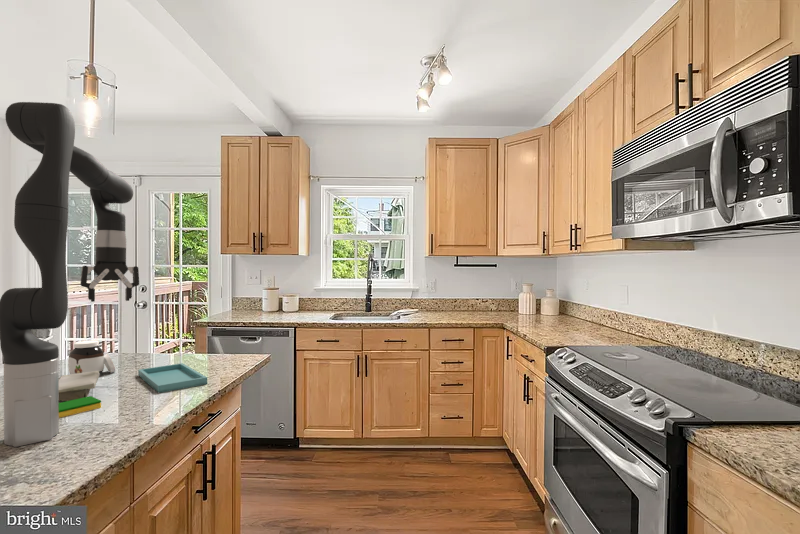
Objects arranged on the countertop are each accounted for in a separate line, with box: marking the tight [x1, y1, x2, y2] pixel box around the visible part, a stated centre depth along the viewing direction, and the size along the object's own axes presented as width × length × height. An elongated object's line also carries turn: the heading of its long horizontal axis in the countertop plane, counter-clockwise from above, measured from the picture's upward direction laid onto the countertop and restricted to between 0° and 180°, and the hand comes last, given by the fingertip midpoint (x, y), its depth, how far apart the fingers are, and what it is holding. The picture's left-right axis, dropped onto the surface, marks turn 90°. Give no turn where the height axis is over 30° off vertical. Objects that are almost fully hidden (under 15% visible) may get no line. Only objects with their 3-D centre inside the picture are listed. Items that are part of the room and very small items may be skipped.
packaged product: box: [59, 371, 101, 402], centre depth 124 cm, size 18×5×10 cm
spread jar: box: [67, 340, 116, 375], centre depth 147 cm, size 12×11×12 cm
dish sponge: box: [59, 395, 102, 419], centre depth 110 cm, size 7×14×2 cm, turn 145°
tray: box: [137, 362, 208, 394], centre depth 141 cm, size 26×14×2 cm, turn 43°
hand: (110, 301), depth 126 cm, fingers open, 8 cm apart
